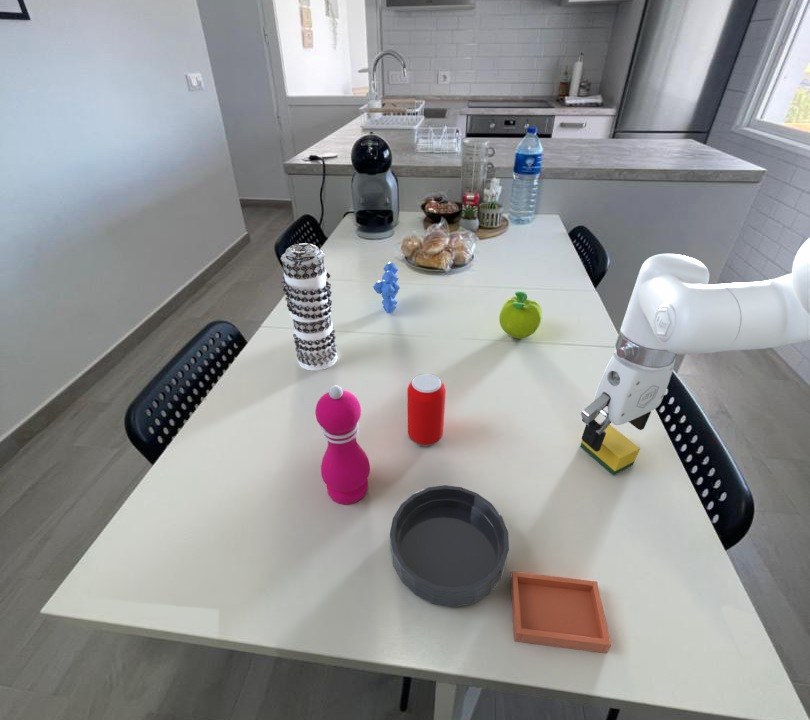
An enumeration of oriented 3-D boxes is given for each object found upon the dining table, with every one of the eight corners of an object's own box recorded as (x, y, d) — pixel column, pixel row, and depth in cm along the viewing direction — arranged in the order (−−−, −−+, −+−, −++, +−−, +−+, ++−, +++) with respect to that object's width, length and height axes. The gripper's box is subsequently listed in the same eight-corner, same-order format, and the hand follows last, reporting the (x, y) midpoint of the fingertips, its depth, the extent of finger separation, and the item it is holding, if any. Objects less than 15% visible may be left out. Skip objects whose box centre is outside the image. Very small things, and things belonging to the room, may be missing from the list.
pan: (529, 573, 57) (534, 555, 55) (427, 632, 52) (427, 616, 49) (463, 488, 68) (465, 470, 66) (372, 529, 63) (371, 512, 60)
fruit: (493, 342, 101) (498, 303, 96) (501, 322, 108) (506, 284, 103) (534, 349, 99) (542, 310, 93) (540, 329, 106) (547, 291, 100)
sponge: (633, 465, 72) (640, 448, 70) (613, 475, 70) (620, 458, 68) (599, 437, 77) (605, 420, 75) (579, 446, 75) (585, 429, 73)
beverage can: (409, 450, 75) (409, 395, 68) (406, 424, 80) (405, 371, 73) (445, 447, 75) (448, 393, 68) (440, 422, 80) (442, 369, 73)
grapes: (377, 297, 119) (375, 254, 112) (402, 298, 119) (401, 255, 112) (370, 319, 110) (368, 274, 103) (398, 320, 110) (397, 275, 103)
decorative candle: (302, 346, 101) (284, 238, 86) (343, 347, 100) (331, 239, 85) (290, 370, 93) (268, 257, 79) (334, 372, 92) (320, 258, 78)
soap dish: (593, 589, 56) (597, 581, 55) (606, 653, 50) (611, 645, 49) (510, 579, 57) (512, 571, 56) (514, 641, 51) (516, 633, 50)
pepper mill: (365, 464, 72) (356, 365, 61) (376, 500, 67) (369, 398, 55) (320, 475, 71) (303, 375, 59) (328, 513, 65) (310, 411, 53)
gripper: (624, 379, 55) (590, 471, 65) (712, 342, 61) (669, 431, 72) (579, 349, 60) (554, 438, 71) (664, 318, 67) (630, 403, 77)
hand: (612, 434), depth 71 cm, fingers open, 9 cm apart
